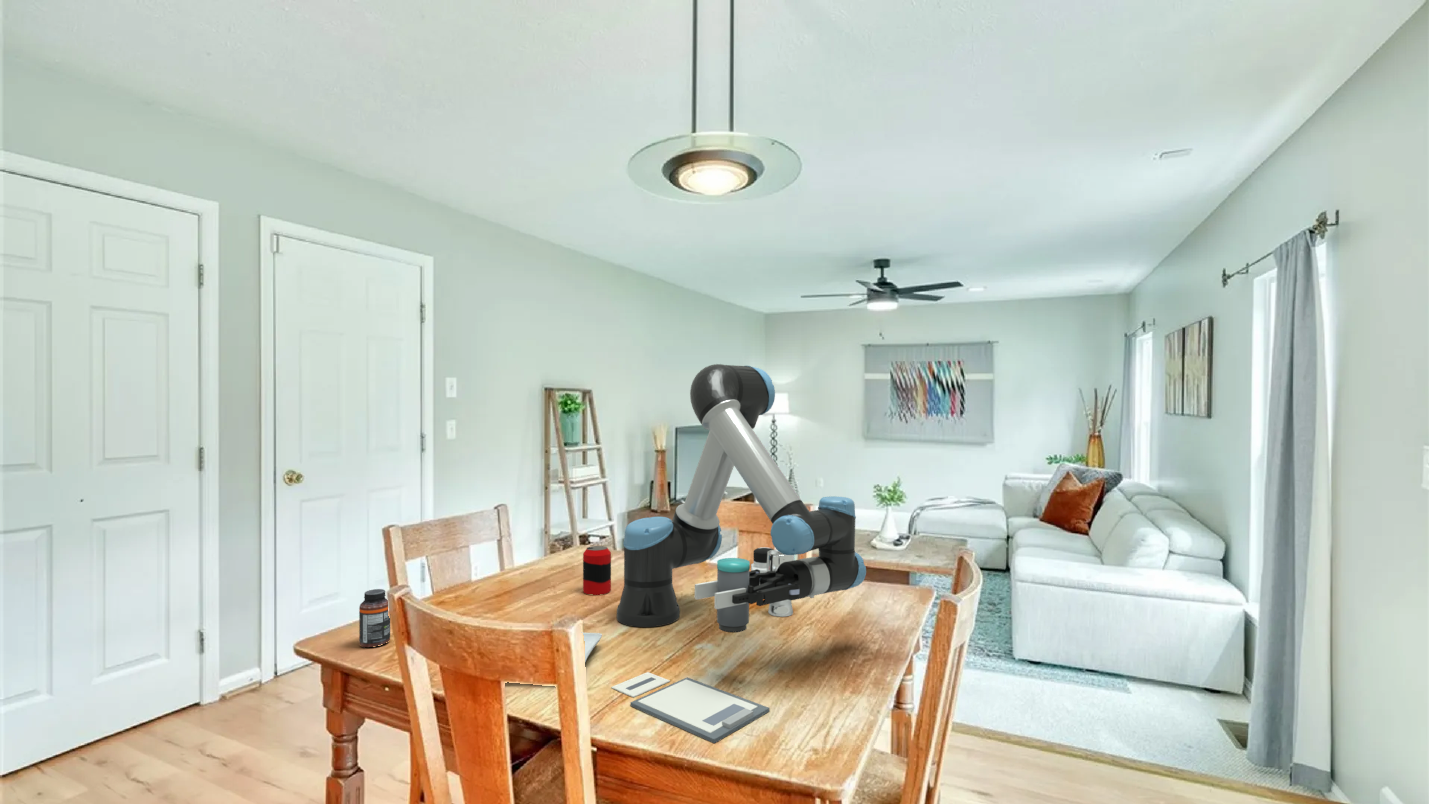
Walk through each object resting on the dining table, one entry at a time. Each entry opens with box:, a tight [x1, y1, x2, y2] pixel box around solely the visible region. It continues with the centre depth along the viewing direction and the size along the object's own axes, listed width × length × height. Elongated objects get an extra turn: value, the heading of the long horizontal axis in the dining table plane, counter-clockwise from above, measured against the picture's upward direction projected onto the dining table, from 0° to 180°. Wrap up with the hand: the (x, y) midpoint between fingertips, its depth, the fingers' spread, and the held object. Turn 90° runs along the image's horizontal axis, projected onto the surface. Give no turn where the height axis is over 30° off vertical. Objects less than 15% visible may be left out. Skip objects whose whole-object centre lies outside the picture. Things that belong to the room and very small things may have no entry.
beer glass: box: [767, 549, 795, 618], centre depth 164 cm, size 7×7×15 cm
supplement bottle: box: [358, 588, 391, 648], centre depth 142 cm, size 6×6×11 cm
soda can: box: [582, 545, 612, 596], centre depth 182 cm, size 8×8×12 cm
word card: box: [611, 671, 671, 698], centre depth 121 cm, size 6×9×1 cm, turn 139°
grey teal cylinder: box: [716, 557, 751, 634], centre depth 125 cm, size 6×6×12 cm
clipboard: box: [629, 676, 770, 744], centre depth 112 cm, size 19×14×1 cm
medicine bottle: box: [750, 546, 775, 585], centre depth 182 cm, size 7×7×12 cm
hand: (705, 596), depth 121 cm, fingers closed on grey teal cylinder, 6 cm apart
